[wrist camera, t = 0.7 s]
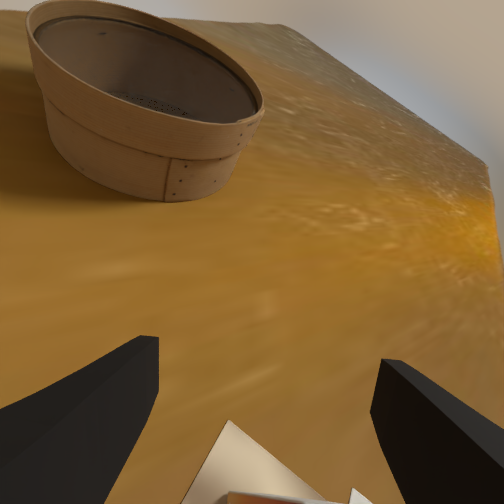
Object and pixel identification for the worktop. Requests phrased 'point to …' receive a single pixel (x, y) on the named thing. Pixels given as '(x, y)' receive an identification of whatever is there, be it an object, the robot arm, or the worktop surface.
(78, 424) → the robot arm
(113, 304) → the worktop surface
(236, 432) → the shelf board
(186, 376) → the worktop surface
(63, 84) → the steamer basket
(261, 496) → the small box
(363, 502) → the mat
